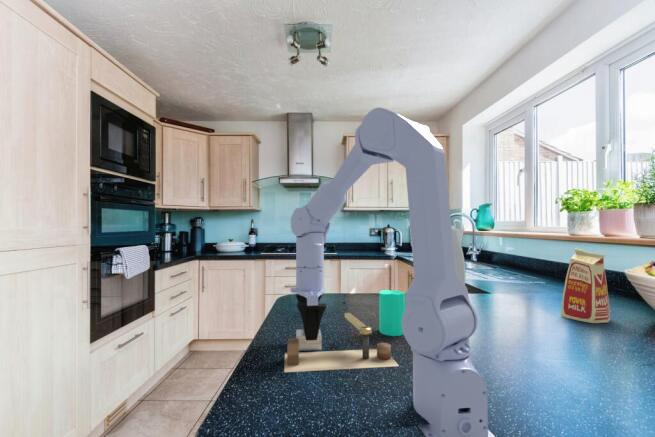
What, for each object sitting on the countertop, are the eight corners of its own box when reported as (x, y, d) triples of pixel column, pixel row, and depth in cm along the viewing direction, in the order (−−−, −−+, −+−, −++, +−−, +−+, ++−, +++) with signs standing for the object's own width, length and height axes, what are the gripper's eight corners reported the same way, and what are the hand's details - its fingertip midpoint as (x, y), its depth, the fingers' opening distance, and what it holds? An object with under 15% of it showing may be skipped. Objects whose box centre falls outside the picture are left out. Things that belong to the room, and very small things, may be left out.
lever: (362, 335, 56) (362, 330, 56) (342, 317, 67) (342, 313, 67) (373, 334, 56) (373, 329, 56) (351, 316, 68) (351, 312, 68)
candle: (406, 342, 68) (405, 288, 69) (379, 340, 69) (378, 287, 70) (404, 333, 74) (404, 283, 75) (379, 331, 75) (379, 283, 76)
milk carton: (560, 316, 89) (558, 248, 90) (578, 313, 93) (576, 247, 94) (598, 325, 81) (596, 250, 82) (616, 320, 85) (613, 249, 86)
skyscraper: (476, 332, 75) (473, 219, 76) (442, 332, 75) (441, 219, 76) (461, 322, 83) (459, 220, 84) (431, 322, 83) (430, 220, 84)
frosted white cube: (321, 356, 61) (321, 335, 61) (296, 357, 60) (296, 336, 60) (319, 348, 65) (319, 328, 65) (296, 349, 64) (296, 329, 64)
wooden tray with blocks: (399, 372, 53) (399, 341, 54) (284, 379, 51) (284, 346, 51) (385, 354, 61) (384, 326, 61) (284, 359, 59) (285, 330, 59)
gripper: (290, 263, 70) (290, 323, 69) (290, 271, 55) (290, 347, 55) (321, 263, 71) (321, 322, 70) (329, 270, 56) (329, 345, 56)
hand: (310, 333), depth 62 cm, fingers open, 7 cm apart
